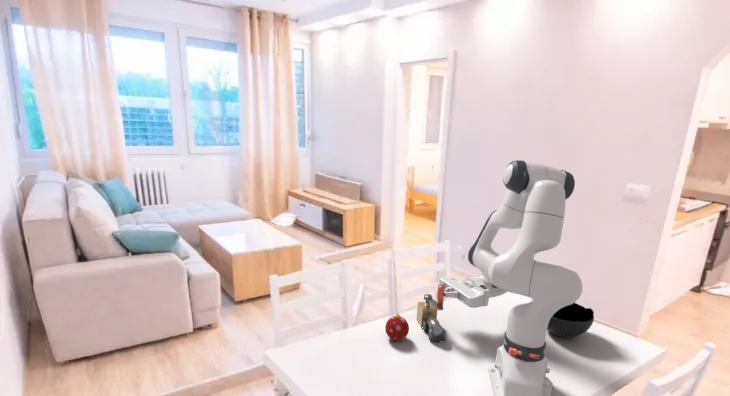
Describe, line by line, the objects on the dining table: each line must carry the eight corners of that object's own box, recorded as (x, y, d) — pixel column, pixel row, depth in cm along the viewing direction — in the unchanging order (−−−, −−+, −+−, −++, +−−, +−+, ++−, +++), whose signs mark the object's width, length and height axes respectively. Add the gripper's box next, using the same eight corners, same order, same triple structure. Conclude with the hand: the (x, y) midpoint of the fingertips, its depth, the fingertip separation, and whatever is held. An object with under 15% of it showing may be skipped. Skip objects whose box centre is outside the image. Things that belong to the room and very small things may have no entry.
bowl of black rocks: (581, 325, 155) (588, 282, 151) (597, 352, 136) (605, 304, 132) (529, 316, 160) (534, 275, 156) (537, 342, 141) (543, 295, 137)
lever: (422, 299, 149) (423, 276, 147) (429, 298, 150) (430, 275, 149) (437, 312, 139) (439, 288, 138) (444, 310, 141) (446, 287, 139)
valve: (416, 320, 153) (418, 298, 151) (430, 319, 154) (432, 297, 152) (430, 343, 137) (432, 319, 135) (446, 342, 138) (448, 318, 136)
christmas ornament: (391, 347, 134) (392, 321, 132) (381, 334, 141) (382, 310, 139) (412, 343, 137) (414, 317, 135) (401, 330, 145) (403, 306, 143)
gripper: (456, 271, 155) (428, 275, 149) (492, 291, 136) (461, 297, 131) (455, 285, 156) (427, 290, 150) (490, 308, 138) (459, 314, 132)
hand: (443, 293), depth 140 cm, fingers closed, pressing on lever
